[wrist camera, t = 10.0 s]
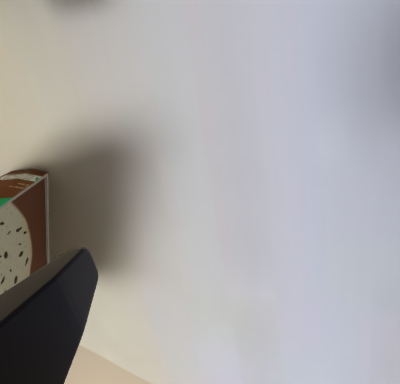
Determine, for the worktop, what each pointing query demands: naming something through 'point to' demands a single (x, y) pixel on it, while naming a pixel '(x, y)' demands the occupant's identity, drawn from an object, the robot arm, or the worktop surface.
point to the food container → (23, 225)
